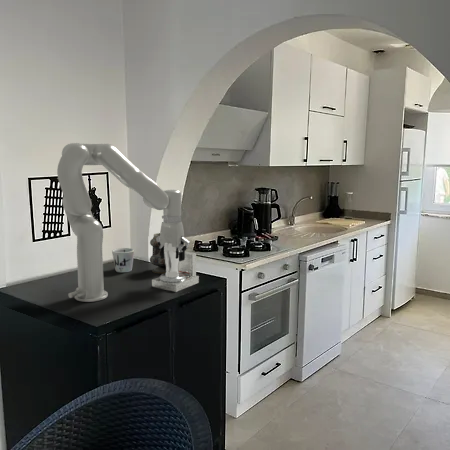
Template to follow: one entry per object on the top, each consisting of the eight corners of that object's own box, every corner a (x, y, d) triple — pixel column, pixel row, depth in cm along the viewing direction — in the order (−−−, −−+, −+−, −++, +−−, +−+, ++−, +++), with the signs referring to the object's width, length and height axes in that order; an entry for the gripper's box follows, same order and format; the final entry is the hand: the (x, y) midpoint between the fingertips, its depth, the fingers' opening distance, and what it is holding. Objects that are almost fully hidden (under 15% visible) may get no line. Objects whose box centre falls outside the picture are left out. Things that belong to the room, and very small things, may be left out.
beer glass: (169, 279, 192) (169, 244, 190) (161, 275, 198) (160, 241, 195) (183, 276, 197) (183, 242, 194) (174, 273, 202) (174, 239, 200)
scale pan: (174, 284, 190) (174, 281, 190) (154, 279, 196) (154, 277, 196) (192, 277, 201) (192, 274, 200) (173, 273, 206) (172, 270, 206)
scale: (176, 291, 190) (176, 261, 187) (152, 286, 196) (151, 256, 194) (198, 282, 203) (198, 253, 201) (175, 277, 210) (175, 250, 208)
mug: (109, 273, 216) (109, 252, 215) (118, 265, 231) (117, 245, 229) (132, 273, 216) (131, 252, 214) (139, 265, 231) (138, 246, 229)
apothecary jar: (180, 269, 224) (179, 233, 221) (165, 275, 213) (165, 237, 210) (159, 266, 229) (159, 231, 226) (144, 272, 219) (144, 235, 216)
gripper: (150, 218, 195) (151, 258, 197) (183, 222, 186) (183, 263, 188) (162, 216, 201) (162, 254, 204) (194, 220, 192) (194, 260, 195)
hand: (172, 259), depth 196 cm, fingers open, 9 cm apart
